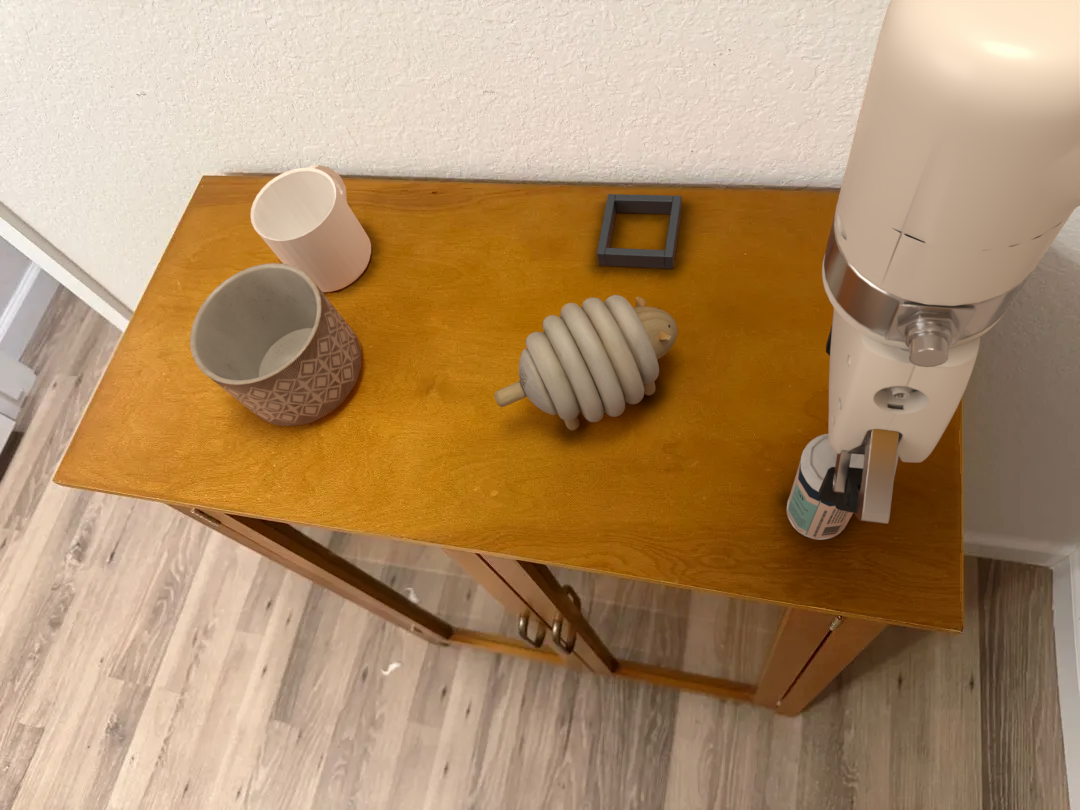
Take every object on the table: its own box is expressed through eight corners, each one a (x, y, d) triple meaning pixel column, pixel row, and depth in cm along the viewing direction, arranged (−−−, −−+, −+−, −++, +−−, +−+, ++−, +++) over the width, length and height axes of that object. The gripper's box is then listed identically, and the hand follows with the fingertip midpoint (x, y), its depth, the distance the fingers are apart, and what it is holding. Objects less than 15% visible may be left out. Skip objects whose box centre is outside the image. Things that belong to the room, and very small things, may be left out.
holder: (682, 208, 78) (681, 195, 76) (673, 269, 75) (672, 257, 74) (610, 206, 80) (608, 193, 78) (598, 265, 77) (596, 253, 75)
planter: (285, 309, 83) (233, 251, 73) (386, 335, 79) (344, 277, 69) (228, 413, 78) (164, 365, 69) (332, 445, 74) (279, 399, 65)
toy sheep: (706, 392, 69) (705, 329, 59) (540, 482, 69) (512, 434, 59) (647, 308, 74) (637, 237, 64) (492, 392, 73) (458, 333, 64)
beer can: (857, 501, 63) (888, 446, 52) (833, 552, 61) (859, 505, 51) (801, 475, 64) (819, 416, 54) (776, 523, 63) (790, 473, 52)
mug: (349, 302, 81) (308, 249, 73) (280, 283, 84) (234, 230, 76) (398, 213, 85) (365, 153, 77) (331, 198, 88) (292, 139, 80)
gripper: (1041, 461, 27) (917, 573, 42) (1015, 96, 34) (916, 306, 49) (816, 438, 29) (775, 553, 44) (834, 96, 36) (793, 298, 51)
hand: (849, 423), depth 47 cm, fingers open, 9 cm apart
